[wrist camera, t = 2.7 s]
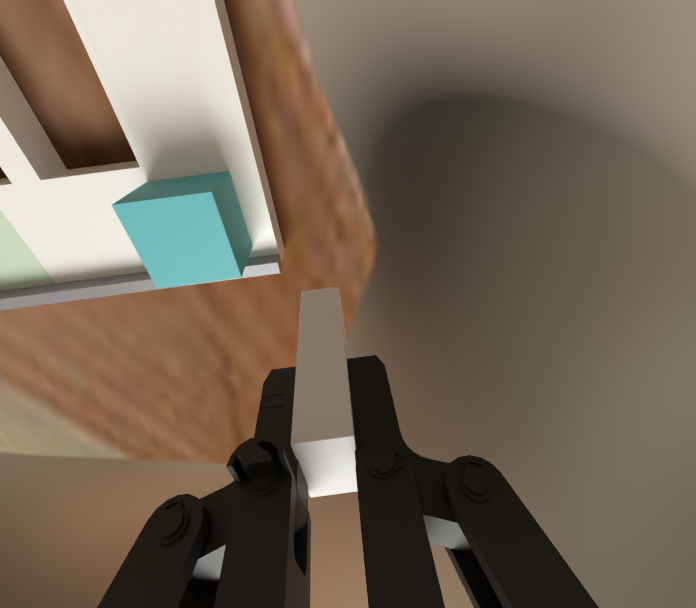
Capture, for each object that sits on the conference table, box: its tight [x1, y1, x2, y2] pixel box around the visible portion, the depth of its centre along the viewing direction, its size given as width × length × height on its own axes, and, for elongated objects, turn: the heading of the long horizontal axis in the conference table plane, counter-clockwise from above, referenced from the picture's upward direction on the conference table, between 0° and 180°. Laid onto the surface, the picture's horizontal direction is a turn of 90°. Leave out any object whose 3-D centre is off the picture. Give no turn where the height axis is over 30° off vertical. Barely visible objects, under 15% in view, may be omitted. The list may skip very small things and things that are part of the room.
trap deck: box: [0, 0, 284, 310], centre depth 23 cm, size 18×28×5 cm, turn 96°
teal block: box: [112, 171, 253, 289], centre depth 23 cm, size 6×6×5 cm
